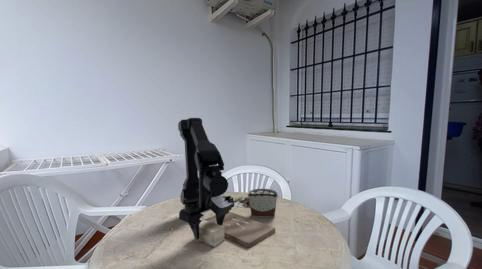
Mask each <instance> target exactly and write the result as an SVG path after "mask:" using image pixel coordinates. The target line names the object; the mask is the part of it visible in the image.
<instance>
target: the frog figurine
mask: <svg viewBox="0 0 482 269" xmlns="http://www.w3.org/2000/svg"><path fill="white" fill-rule="evenodd" d="M242 199H244V200H242ZM233 200H234V207H238V208H248V206H250V200H249V196H247V197H245V198H243V197H237V198H234V199H233Z"/></svg>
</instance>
